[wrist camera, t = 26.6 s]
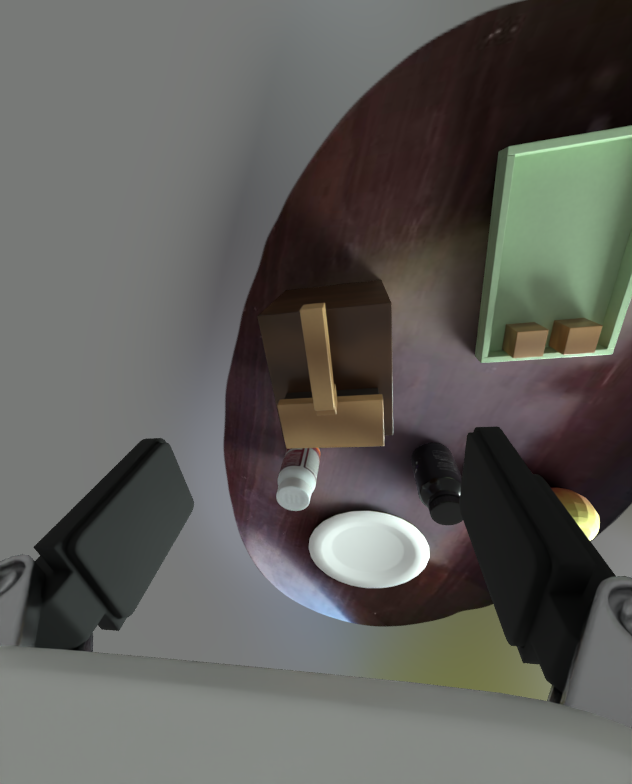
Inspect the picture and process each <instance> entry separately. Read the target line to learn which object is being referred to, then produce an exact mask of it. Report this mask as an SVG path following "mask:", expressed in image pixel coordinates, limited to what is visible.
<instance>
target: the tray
mask: <svg viewBox="0 0 632 784" xmlns="http://www.w3.org/2000/svg"><path fill="white" fill-rule="evenodd" d="M631 296H632V125H631V126H625V127H619V128H613V129H607V130H601V131H595V132H590V133H584V134H578V135H572V136H566V137H560V138H554V139H548V140H543V141H537V142H531V143H525V144H519V145H513V146H509V147H507V148H505V149H503V150H501V151H499V152H498V160H497V169H496V178H495V186H494V195H493V203H492V212H491V221H490V229H489V238H488V246H487V255H486V264H485V272H484V281H483V289H482V298H481V307H480V315H479V324H478V332H477V341H476V350H475V357H476V358H477V359H478V360H479V361H480V362H481V363H487V362H502V361H517V360H532V359H547V358H562V357H577V356H592V355H608V354H612V353H613V350H614V348H615V345H616V342H617V339H618V336H619V333H620V330H621V327H622V324H623V321H624V318H625V315H626V312H627V309H628V306H629V303H630V300H631ZM576 318H586V319H588V320H591V321H593V322H596V323H598V324H601V325H603V327H602V330H601V333H600V337H599V340H598V343H597V346H596V350H595V353H585V354H571V355H562V354H561V353H559V352H558V351H556V350H555V349H553V348H551V347H550V346H549V341H550V336H551V332H552V328H553V323H554V320H564V319H576ZM528 322H535V323H537V324H539V325H541V326H543V327H545V328H546V329H548V330H549V331H548V336H547V340H546V345H545V349H544V354H543V356H541V357H527V358H512V357H511V356H510V355H508V354H507V353H506V352H505V351H504V350H503V349H502V346H503V340H504V333H505V327H506V324H516V323H528Z"/></svg>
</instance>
